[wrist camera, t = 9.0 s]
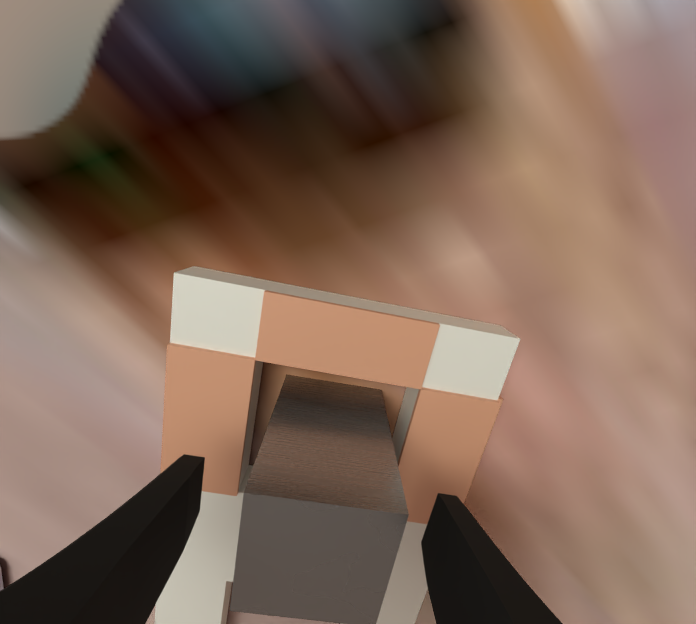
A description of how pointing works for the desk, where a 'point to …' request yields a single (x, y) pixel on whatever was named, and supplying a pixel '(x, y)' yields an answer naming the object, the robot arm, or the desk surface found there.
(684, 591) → the desk surface
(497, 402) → the board with square holes
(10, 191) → the desk surface
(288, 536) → the dark grey block
